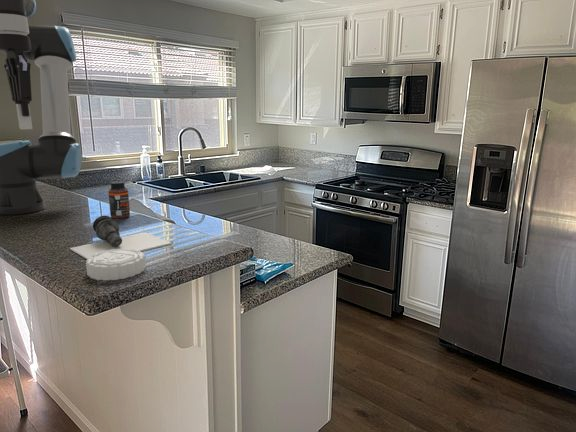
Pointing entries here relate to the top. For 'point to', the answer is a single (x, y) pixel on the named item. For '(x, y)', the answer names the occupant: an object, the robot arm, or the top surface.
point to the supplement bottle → (119, 200)
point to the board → (122, 245)
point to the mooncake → (115, 264)
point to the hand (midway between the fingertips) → (26, 129)
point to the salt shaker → (107, 230)
